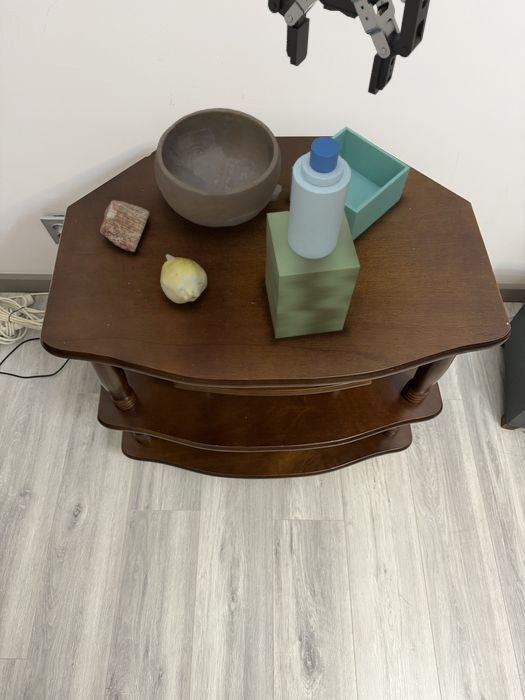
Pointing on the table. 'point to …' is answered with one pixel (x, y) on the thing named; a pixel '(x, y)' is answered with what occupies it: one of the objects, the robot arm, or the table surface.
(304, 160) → the bottle
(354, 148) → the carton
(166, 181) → the bowl
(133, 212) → the stone
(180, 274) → the fruit
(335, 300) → the stand
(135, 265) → the table surface
